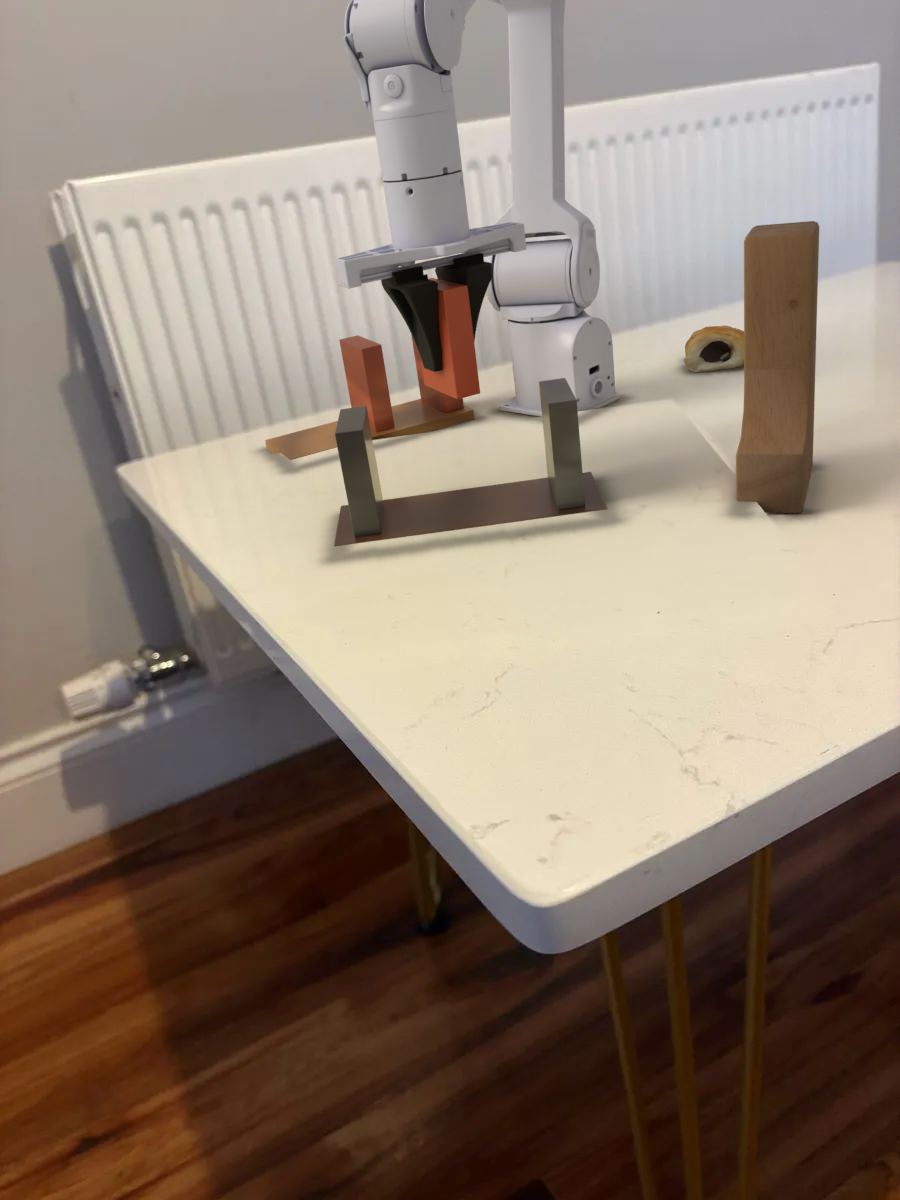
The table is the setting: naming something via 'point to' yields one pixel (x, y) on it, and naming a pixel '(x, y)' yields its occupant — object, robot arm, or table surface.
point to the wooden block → (778, 365)
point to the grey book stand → (473, 505)
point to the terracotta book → (454, 344)
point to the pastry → (715, 349)
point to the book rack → (376, 404)
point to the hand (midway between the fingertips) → (448, 365)
